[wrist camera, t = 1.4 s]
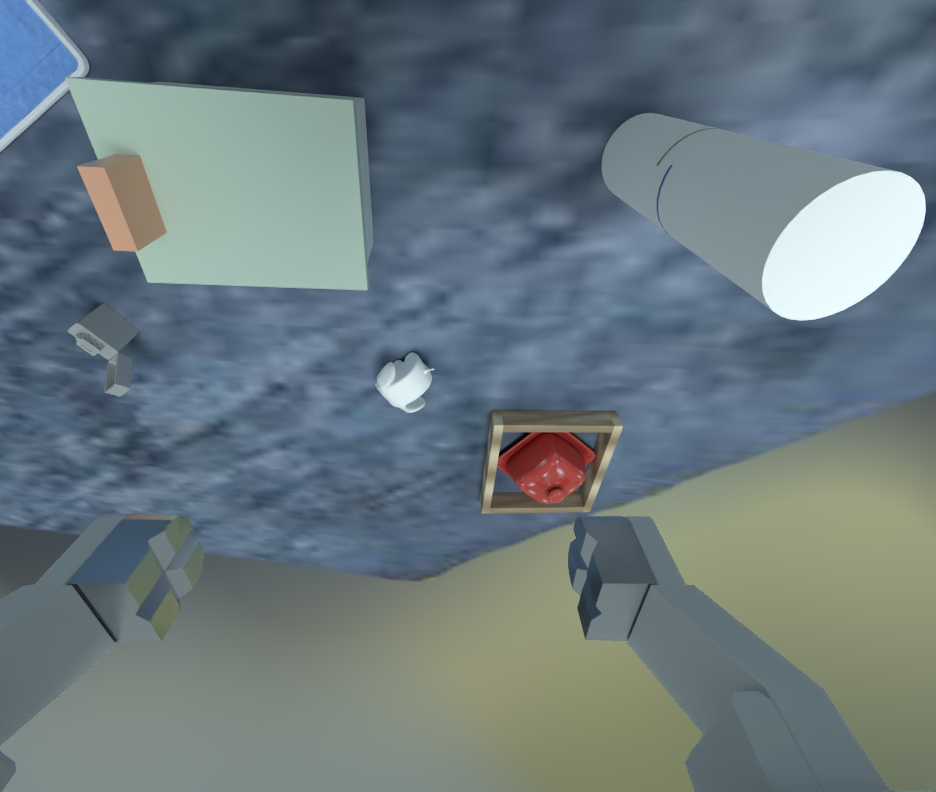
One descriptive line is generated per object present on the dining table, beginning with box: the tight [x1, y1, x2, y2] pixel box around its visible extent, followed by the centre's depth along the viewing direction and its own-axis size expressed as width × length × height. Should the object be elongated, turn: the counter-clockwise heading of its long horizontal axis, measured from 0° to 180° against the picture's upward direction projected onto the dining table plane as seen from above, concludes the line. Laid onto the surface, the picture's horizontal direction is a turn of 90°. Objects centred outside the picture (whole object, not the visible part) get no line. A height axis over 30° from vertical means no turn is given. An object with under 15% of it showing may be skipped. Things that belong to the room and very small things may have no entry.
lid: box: [65, 77, 369, 290], centre depth 30 cm, size 13×17×6 cm
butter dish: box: [497, 432, 596, 504], centre depth 61 cm, size 12×12×8 cm
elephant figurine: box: [375, 352, 434, 413], centre depth 50 cm, size 7×8×6 cm
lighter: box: [68, 304, 140, 397], centre depth 44 cm, size 7×2×8 cm, turn 32°
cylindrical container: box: [601, 113, 926, 320], centre depth 30 cm, size 7×7×25 cm
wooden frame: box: [480, 410, 623, 513], centre depth 63 cm, size 18×17×3 cm
